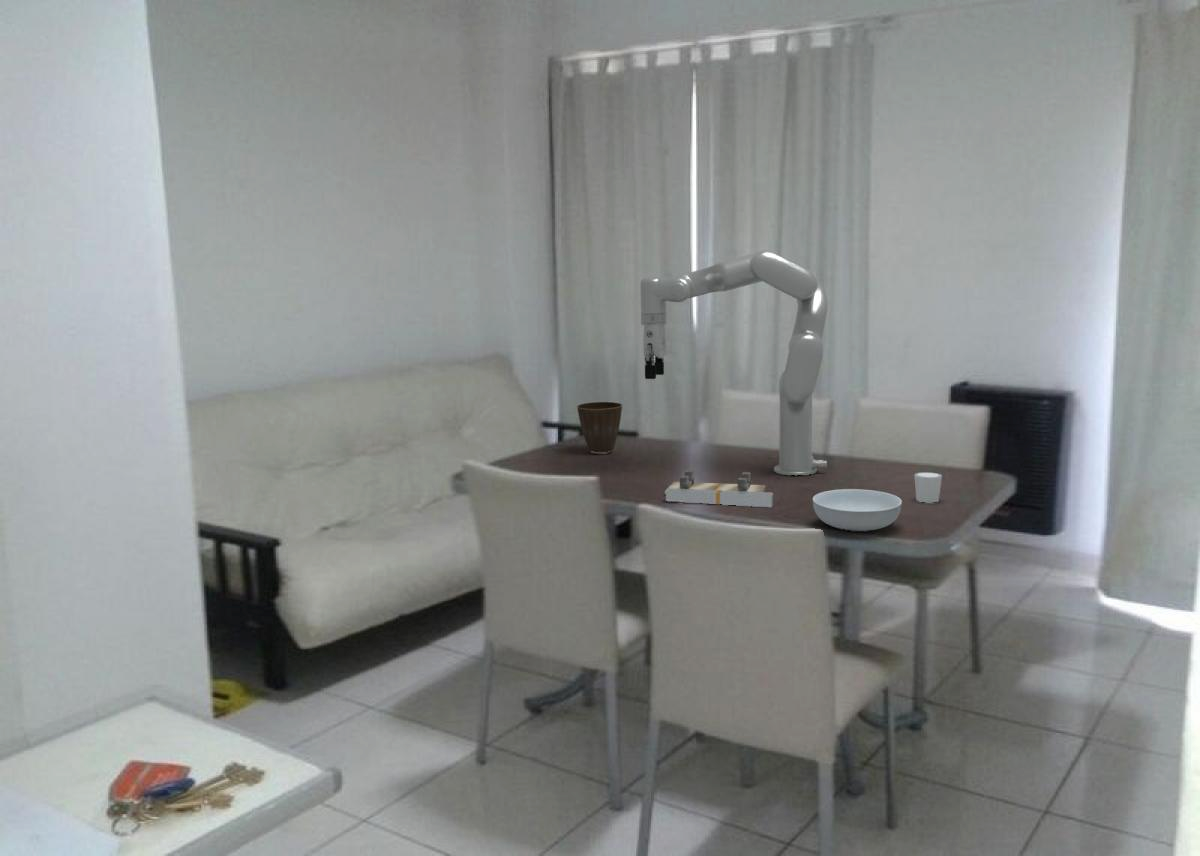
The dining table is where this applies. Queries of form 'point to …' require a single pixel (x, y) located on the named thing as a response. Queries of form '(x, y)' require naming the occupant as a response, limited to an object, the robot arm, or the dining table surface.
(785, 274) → the robot arm
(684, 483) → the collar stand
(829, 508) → the serving bowl
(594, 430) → the plant pot
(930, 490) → the white cup
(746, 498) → the white banded bar
